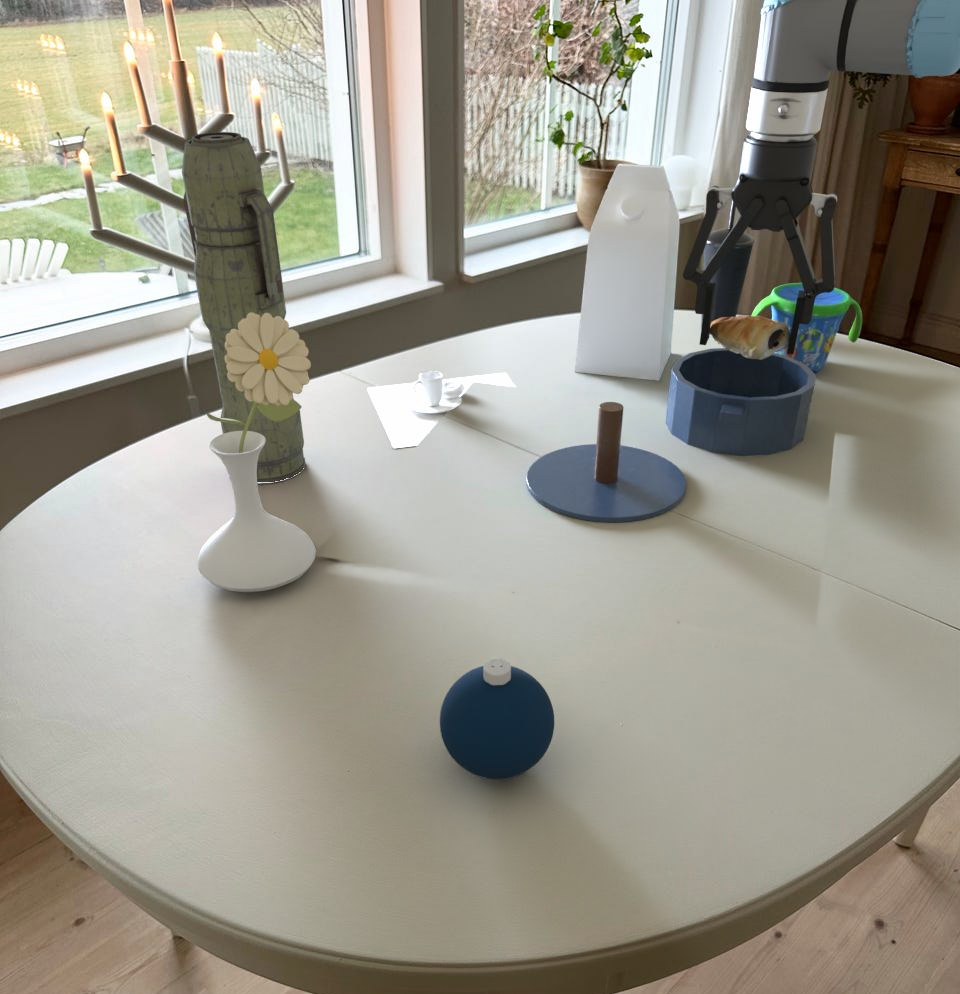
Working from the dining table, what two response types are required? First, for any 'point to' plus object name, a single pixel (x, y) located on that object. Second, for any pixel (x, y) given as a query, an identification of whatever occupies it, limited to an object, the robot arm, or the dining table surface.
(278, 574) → the flower in vase
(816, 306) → the snack cup
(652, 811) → the dining table surface
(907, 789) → the dining table surface
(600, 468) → the lid
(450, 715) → the christmas ornament
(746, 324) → the pastry
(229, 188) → the thermos
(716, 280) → the drinking cup
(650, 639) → the dining table surface
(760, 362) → the pot
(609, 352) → the milk
